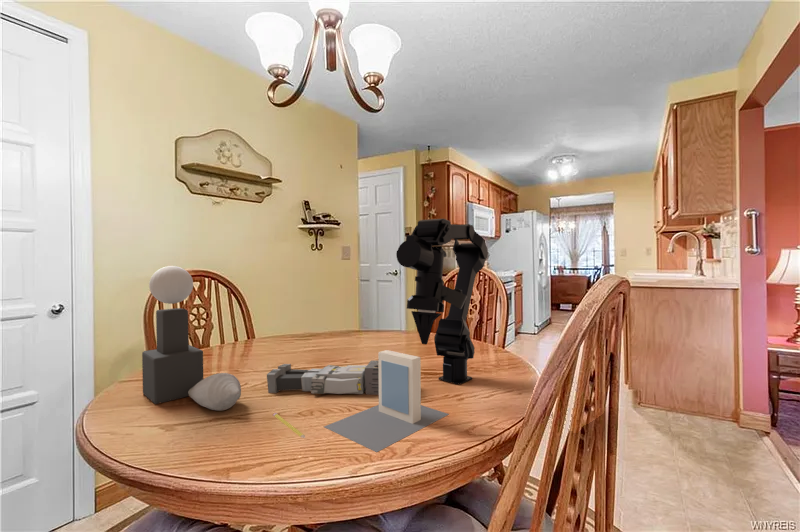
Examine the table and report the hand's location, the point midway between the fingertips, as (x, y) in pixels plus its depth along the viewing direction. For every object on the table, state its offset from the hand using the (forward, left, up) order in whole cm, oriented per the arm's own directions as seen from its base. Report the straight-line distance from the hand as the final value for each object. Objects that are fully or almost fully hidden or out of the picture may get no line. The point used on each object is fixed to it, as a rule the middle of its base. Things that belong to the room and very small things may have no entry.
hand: (424, 344), depth 84 cm
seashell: (+32, -32, -13) cm, 47 cm away
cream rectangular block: (+10, +2, -12) cm, 16 cm away
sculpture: (+35, -47, -13) cm, 60 cm away
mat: (+13, +2, -12) cm, 18 cm away
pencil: (+27, -10, -13) cm, 32 cm away
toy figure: (+9, -21, -13) cm, 26 cm away
